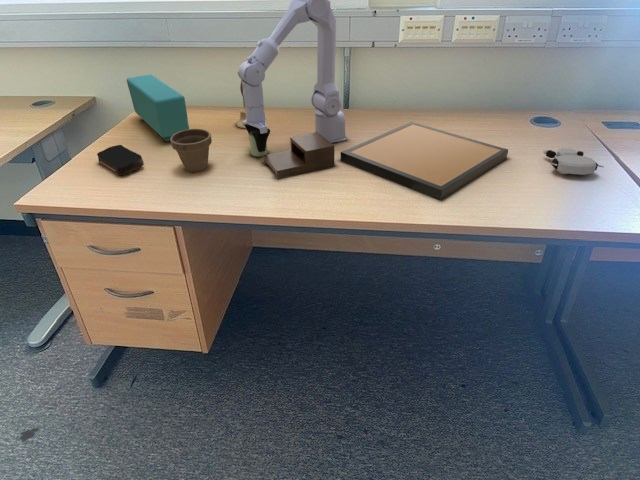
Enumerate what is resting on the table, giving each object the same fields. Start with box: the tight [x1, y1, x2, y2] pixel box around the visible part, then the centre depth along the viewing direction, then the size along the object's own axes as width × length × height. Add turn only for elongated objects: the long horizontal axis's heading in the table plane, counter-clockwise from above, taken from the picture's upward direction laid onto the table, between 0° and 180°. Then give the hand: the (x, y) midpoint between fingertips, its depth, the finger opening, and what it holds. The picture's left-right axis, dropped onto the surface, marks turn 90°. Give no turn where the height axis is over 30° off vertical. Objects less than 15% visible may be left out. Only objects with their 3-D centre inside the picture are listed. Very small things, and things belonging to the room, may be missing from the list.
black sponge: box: [96, 144, 145, 176], centre depth 137 cm, size 16×8×4 cm, turn 46°
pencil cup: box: [248, 132, 268, 157], centre depth 142 cm, size 5×5×6 cm
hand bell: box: [236, 78, 246, 129], centre depth 161 cm, size 8×8×16 cm
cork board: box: [340, 121, 509, 201], centre depth 137 cm, size 36×3×35 cm
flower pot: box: [169, 128, 212, 173], centre depth 133 cm, size 12×11×10 cm
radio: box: [126, 73, 190, 142], centre depth 160 cm, size 34×10×15 cm, turn 34°
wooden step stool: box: [262, 131, 335, 180], centre depth 135 cm, size 18×12×7 cm, turn 115°
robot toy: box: [542, 147, 604, 176], centre depth 130 cm, size 12×4×15 cm
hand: (258, 148), depth 142 cm, fingers closed on pencil cup, 5 cm apart
